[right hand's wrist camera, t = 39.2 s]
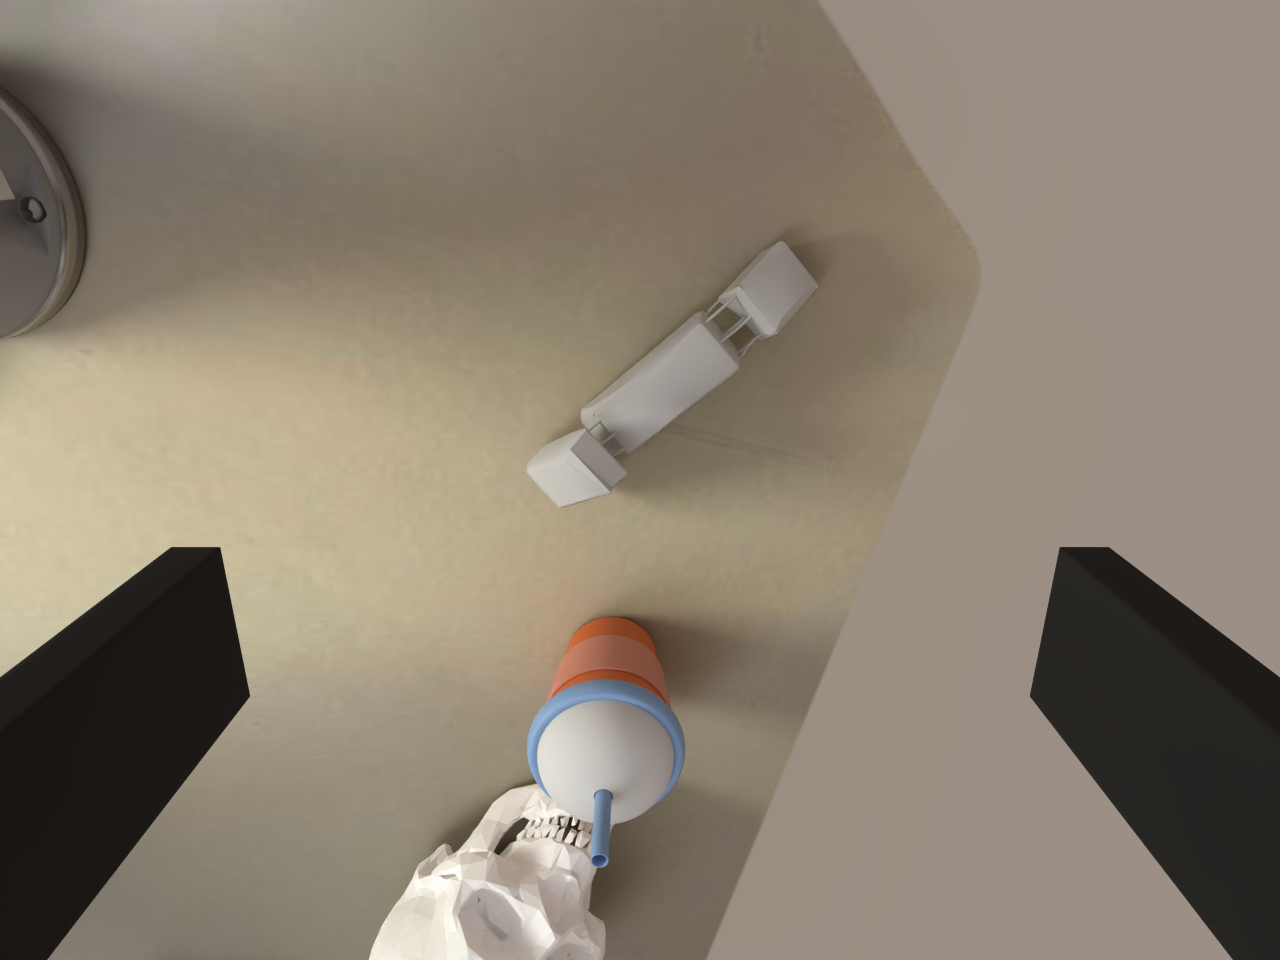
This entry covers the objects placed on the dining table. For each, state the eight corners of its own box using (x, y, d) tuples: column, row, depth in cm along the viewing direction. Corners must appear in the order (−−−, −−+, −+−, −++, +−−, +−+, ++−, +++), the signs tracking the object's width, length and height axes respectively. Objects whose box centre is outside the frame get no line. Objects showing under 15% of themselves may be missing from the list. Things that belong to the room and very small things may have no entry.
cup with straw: (702, 635, 54) (730, 836, 37) (634, 729, 57) (631, 956, 40) (588, 573, 53) (563, 754, 36) (523, 673, 55) (471, 884, 38)
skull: (672, 807, 59) (675, 1009, 44) (510, 976, 65) (465, 1204, 50) (525, 715, 57) (476, 895, 42) (372, 899, 63) (282, 1114, 48)
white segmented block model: (563, 502, 50) (562, 541, 44) (522, 461, 49) (514, 494, 43) (805, 286, 48) (841, 293, 41) (766, 238, 47) (797, 237, 40)
